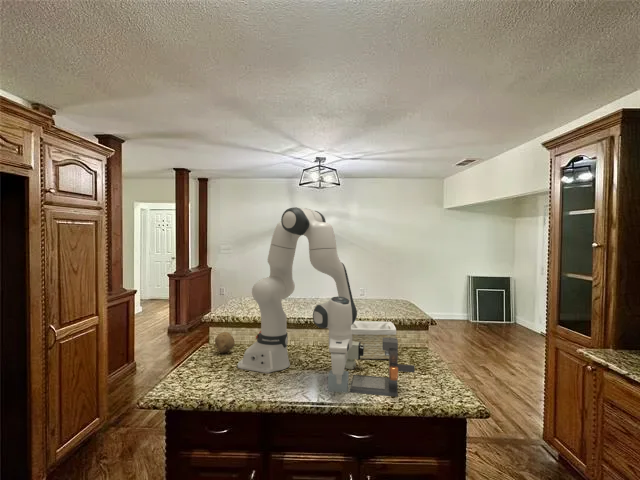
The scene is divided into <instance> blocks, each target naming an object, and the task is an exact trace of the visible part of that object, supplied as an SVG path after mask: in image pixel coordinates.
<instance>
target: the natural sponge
mask: <svg viewBox="0 0 640 480" xmlns="http://www.w3.org/2000/svg"><path fill="white" fill-rule="evenodd" d="M214 340H215V341H214V342H215V346H216V348H217V350H218V352H219V353H221V354H225V353H227V352H228V351H229V350H230V351H231V349H233V348H234V346H235V345H236V344H235V343H236V342H235V339H234V337H233V335H232V334H231V333H229V332H227V331H224V332H220V333H219V334H217V336H216V337H215V338H214Z"/></svg>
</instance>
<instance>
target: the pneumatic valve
mask: <svg viewBox="0 0 640 480" xmlns="http://www.w3.org/2000/svg"><path fill="white" fill-rule="evenodd" d="M361 356H364V346H363V345H362V344H361V342H355V341H352V347H351V348H350V349H349V351H348V357H347V361H346V365H345V369H346V370H347V369H348V370H354V369H355V368H356V367H357V361H356V360H360V357H361Z"/></svg>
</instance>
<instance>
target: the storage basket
mask: <svg viewBox="0 0 640 480" xmlns="http://www.w3.org/2000/svg"><path fill="white" fill-rule="evenodd" d="M351 329H352V341H355V342H361V344H362V345H363V346H364V356H361V357H360V359H361V360H367V359H368V360H371V359H372V360H389V356H387V355H385V350H383V338H396V337H397V336H396V335H397V334H398V333H397V328H396V326H395V324H394V323H393V322H392V321H379V320H378V321H377V320H376V321H372V320H371V321H368V320H367V321H365V320H355V322H354V323H353V324H352V325H351ZM360 359H359V360H360Z"/></svg>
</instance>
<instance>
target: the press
mask: <svg viewBox="0 0 640 480" xmlns="http://www.w3.org/2000/svg"><path fill="white" fill-rule="evenodd" d="M398 340H399V339H398V338H383V350H385V355H387V356H389V359H388V368H389V367H390V366H396V367H398V372H400V373H401V372H402V373H404V372H405V373H412V374H413V373H415V371H416V369H415V368H416V367H415V365H412V364H402V363H401V364H400V363H398V362H399V359H398V358H399V341H398ZM349 393H352V394H353V393H355V394H364V395H365V394H366V395H375V396H376V395H377V396H388V397H396V398H397V397H398V394H399V392H398V380H395V381H394V380H390V379H389V376H388V377H387V376H375V375H365V374H364V375H363V374H362V375H361V374H353V376H352V379H351V382H350V387H349Z"/></svg>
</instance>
